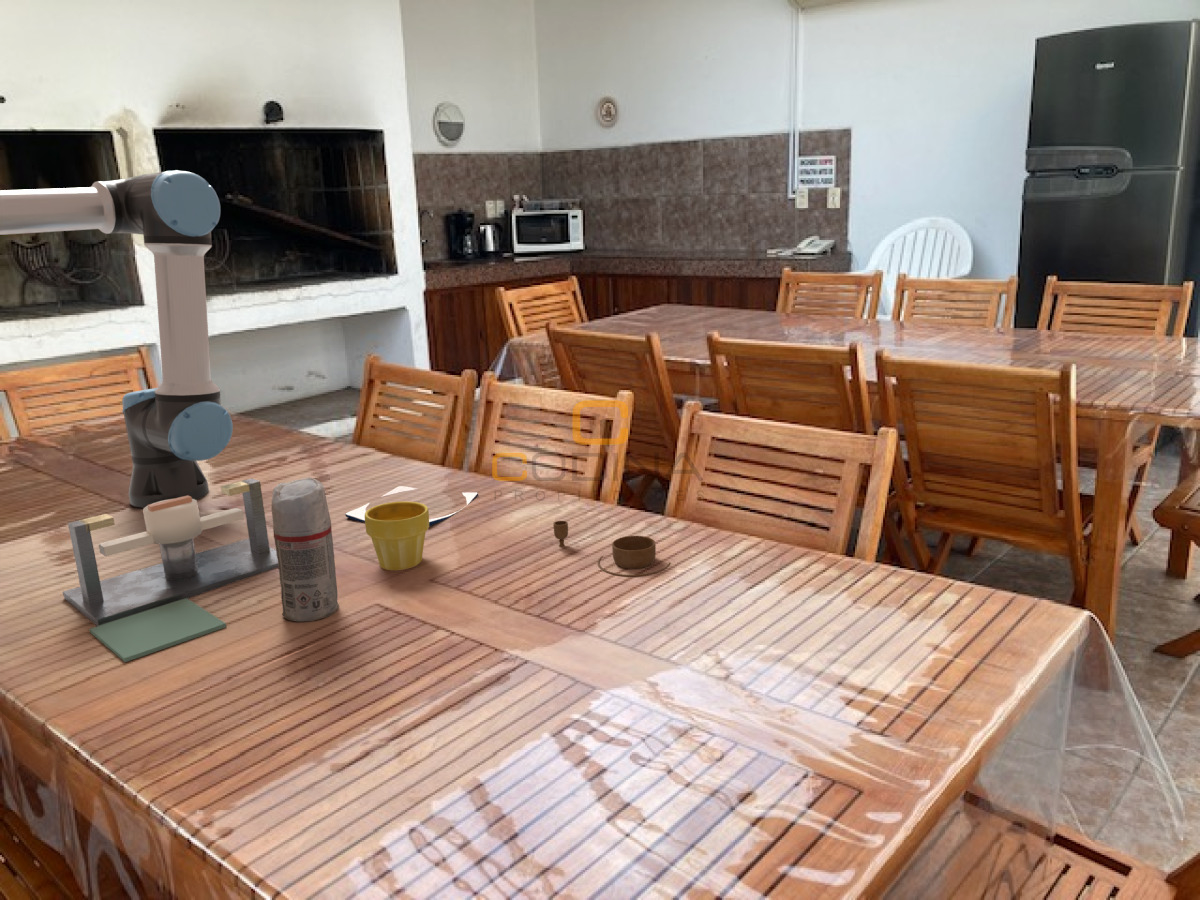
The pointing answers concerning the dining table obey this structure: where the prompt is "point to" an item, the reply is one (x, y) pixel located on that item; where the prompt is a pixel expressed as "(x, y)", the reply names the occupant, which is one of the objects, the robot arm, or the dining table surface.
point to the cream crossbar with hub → (170, 524)
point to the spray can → (304, 550)
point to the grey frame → (169, 565)
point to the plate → (360, 512)
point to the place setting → (621, 550)
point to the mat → (156, 629)
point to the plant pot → (398, 533)
